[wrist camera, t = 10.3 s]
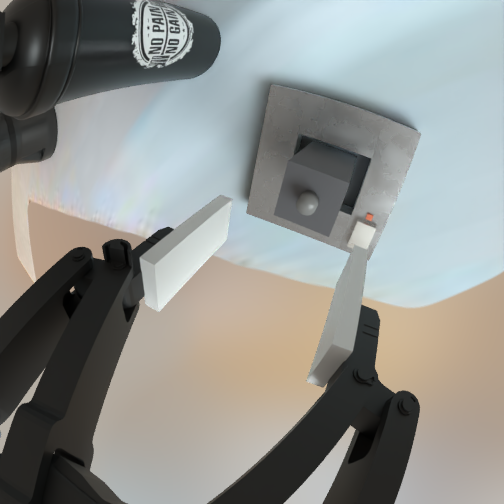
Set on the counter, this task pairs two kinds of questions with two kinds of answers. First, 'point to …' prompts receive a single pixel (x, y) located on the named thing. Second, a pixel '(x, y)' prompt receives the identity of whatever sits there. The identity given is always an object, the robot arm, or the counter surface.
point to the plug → (315, 187)
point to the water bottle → (96, 49)
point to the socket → (342, 135)
